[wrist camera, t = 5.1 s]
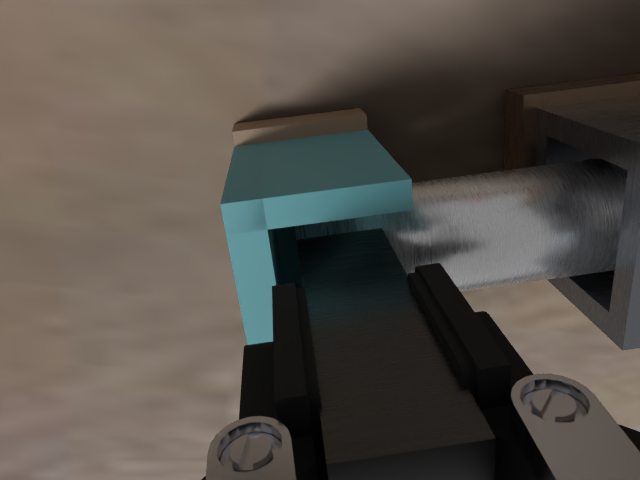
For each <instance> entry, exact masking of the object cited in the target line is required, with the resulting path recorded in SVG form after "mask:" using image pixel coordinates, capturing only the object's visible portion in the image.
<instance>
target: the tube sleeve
mask: <svg viewBox="0 0 640 480" xmlns="http://www.w3.org/2000/svg"><path fill="white" fill-rule="evenodd" d="M596 158H601V159H603V160H605V161H608V162H610V163H612V164H615V165H617V166H619V167H622V168H624V169H626V170H628V173H627V181H626V188H625V196H624V204H623V211H622V219H621V226H620V234H619V242H618V249H617V257H616V265H615V270H611V271H604V272H597V273H590V274H583V275H576V276H569V277H562V278H555V279H547V280H548V281H549V282H550V283H551V284H552V285H554V286H555V287H556V288H557V289H558V290H559V291H560V292H561V293H562V294H563V295H564V296H565V297H566V298H567V299H568V300H570V301H571V302H572V303H573V304H574V305H575V306H576V307H577V308H578V309H579V310H580V311H581V312H582V313H583V314H584V315H585V316H587V317H588V318H589V319H590V320H591V321H592V322H593V323H594V324H595V325H596V326H597V327H598V328H599V329H600V330H601V331H602V332H604V333H605V334H606V335H607V336H608V337H609V338H610V339H611V340H612V341H613V342H614V343H615V344H616V345H617V346H618V347H619V348H621V349H622V350H628V349H635V348H640V73H636V74H627V75H619V76H611V77H603V78H595V79H587V80H579V81H571V82H563V83H555V84H547V85H539V86H531V87H523V88H515V89H507V90H506V105H505V135H504V164H503V171H505V170H513V169H520V168H528V167H536V166H543V165H551V164H558V163H566V162H574V161H581V160H589V159H596Z"/></svg>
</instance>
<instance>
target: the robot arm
mask: <svg viewBox="0 0 640 480" xmlns="http://www.w3.org/2000/svg"><path fill="white" fill-rule="evenodd" d="M407 280H408V282H409V284H410V286H411V287H412V289H413V291H414V293H415V295H416V297H417V299H418V301H419V303H420V304H421V306H422V308H423V310H424V312H425V314H426V316H427V318H428V320H429V321H430V323H431V325H432V327H433V329H434V331H435V333H436V335H437V336H438V338H439V340H440V342H441V344H442V346H443V348H444V350H445V352H446V353H447V355H448V357H449V359H450V361H451V363H452V365H453V367H454V369H455V370H456V372H457V374H458V376H459V378H460V380H461V382H462V384H463V385H464V387H466V386H468V388H469V390H470V392H471V394H472V395H473V397H474V399H475V401H476V403H477V405H478V406H479V408H480V410H481V412H482V414H483V416H484V418H485V419H486V421H487V423H488V425H489V427H490V429H491V430H492V432H493V434H494V436H495V438H496V448H495V476H494V480H640V432H638V431H636V430H633V429H630V428H627V427H624V426H622V425H619V424H617V422H616V421H615V420H614V419H613V417H612V416H611V415H610V414H609V412H608V411H607V410H606V409H605V407H604V406H603V405H602V403H601V402H600V401H599V400H598V398H597V397H596V396H595V395H594V394H593V393H592V392H591V391H590V390H589V389H588V388H587V387H586V386H584V385H582V384H580V383H579V382H577V381H575V380H573V379H570V378H567V377H564V376H560V375H554V374H535V375H533V373H532V372H531V371H530V369H529V368H528V367H527V365H526V364H525V363H524V361H523V360H522V358H521V357H520V356H519V354H518V353H517V352H516V350H515V349H514V348H513V346H512V345H511V344H510V342H509V341H508V340H507V338H506V337H505V336H504V334H503V333H502V331H501V330H500V329H499V327H498V326H497V325H496V323H495V322H494V321H493V319H492V318H491V317H490V315H489V314H488V313H487V312H484V311H482V312H474V311H473V309H472V308H471V306H470V305H469V304H468V302H467V301H466V299H465V298H464V296H463V295H462V294H461V292H460V291H459V289H458V288H457V286H456V285H455V284H454V282H453V281H452V279H451V278H450V276H449V275H448V274H447V272H446V271H445V269H444V268H443V266H442V265H441V264H440V263H434V264H427V265H420V266H416V267H415V272H413V273H408V275H407ZM272 313H273V341H272V342H265V343H258V344H251V345H245V346H244V355H243V369H242V384H241V399H240V414H239V420H237V421H235V422H233V423H231V424H229V425H227V426H226V427H224V428H223V429H222V430H221V431H220V432H219V433H218V434H217V435H216V436H215V438H214V439H213V440H212V442H211V443H210V447H209V451H208V456H207V469H206V476H205V477H204V478H203V479H202V480H329V479H328V472H327V465H326V457H325V450H324V442H323V435H322V427H321V420H320V412H319V408H322V406H321V398H320V391H319V384H318V377H317V370H316V363H315V356H314V349H313V341H312V334H311V327H310V320H309V313H308V306H307V299H306V292H305V288H298V289H296V286H295V283H290V284H283V285H275V286H272Z"/></svg>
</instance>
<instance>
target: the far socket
mask: <svg viewBox="0 0 640 480" xmlns="http://www.w3.org/2000/svg"><path fill="white" fill-rule="evenodd" d="M232 135H233V141H234V146H235V147H234V151H233V155H232V159H231V163H230V167H229V171H228V175H227V179H226V183H225V187H224V191H223V195H222V199H221V204H220V205H221V210H222V215H223V221H224V226H225V231H226V236H227V241H228V247H229V252H230V257H231V262H232V267H233V272H234V278H235V283H236V288H237V293H238V298H239V303H240V309H241V314H242V319H243V324H244V329H245V335H246V340H247V345H251V344H258V343H265V342H272V341H273V313H272V286H275V285H283V284H290V283H295V286H296V289H298V288H303V284H302V277H301V269H300V262H299V254H298V247H297V239H296V232H295V226H299V225H306V224H314V223H321V222H329V221H336V220H344V219H351V218H358V217H366V216H373V215H381V214H388V213H396V212H403V211H411V210H413V200H412V179H411V178H410V177H409V175H408V174H407V173H406V172H405V171H404V170H403V169H402V168H401V166H400V165H399V164H398V163H397V162H396V161H395V160H394V159H393V157H392V156H391V155H390V154H389V153H388V152H387V151H386V150H385V148H384V147H383V146H382V145H381V144H380V143H379V142H378V141H377V139H376V138H375V137H374V136H373V135H372V134H371V133H370V131H369V130H368V125H367V115H366V114H365V113H364V112H363V111H362V110H361V109H360V108H355V109H347V110H339V111H331V112H323V113H315V114H307V115H299V116H291V117H283V118H275V119H267V120H259V121H251V122H243V123H235V124H234V127H233V130H232Z"/></svg>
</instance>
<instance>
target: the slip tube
mask: <svg viewBox="0 0 640 480" xmlns="http://www.w3.org/2000/svg"><path fill="white" fill-rule="evenodd" d="M627 173H628V170H626V169H624V168H622V167H619V166H617V165H615V164H612V163H610V162H608V161H605V160H603V159H601V158H596V159H589V160H581V161H574V162H566V163H558V164H551V165H543V166H536V167H528V168H520V169H513V170H505V171H498V172H490V173H482V174H475V175H467V176H460V177H452V178H444V179H437V180H429V181H422V182H414V183H412V200H413V210H411V211H403V212H396V213H388V214H381V215H373V216H366V217H358V218H351V219H344V220H336V221H329V222H321V223H314V224H306V225H299V226H295V232H296V239H297V247H298V254H299V262H300V269H301V277H302V284H303V288H305V292H306V299H307V306H308V313H309V320H310V327H311V334H312V341H313V349H314V356H315V363H316V370H317V377H318V384H319V391H320V398H321V406H322V408H319V412H320V420H321V427H322V435H323V442H324V450H325V457H326V465H327V472H328V479H329V480H494V476H495V448H496V438H495V436H494V434H493V432H492V430H491V429H490V427H489V425H488V423H487V421H486V419H485V418H484V416H483V414H482V412H481V410H480V408H479V406H478V405H477V403H476V401H475V399H474V397H473V395H472V394H471V392H470V390H469V388H468V386H466V387H464V385H463V384H462V382H461V380H460V378H459V376H458V374H457V372H456V370H455V369H454V367H453V365H452V363H451V361H450V359H449V357H448V355H447V353H446V352H445V350H444V348H443V346H442V344H441V342H440V340H439V338H438V336H437V335H436V333H435V331H434V329H433V327H432V325H431V323H430V321H429V320H428V318H427V316H426V314H425V312H424V310H423V308H422V306H421V304H420V303H419V301H418V299H417V297H416V295H415V293H414V291H413V289H412V287H411V286H410V284H409V282H408V280H407V275H408V273H413V272H415V267H416V266H420V265H427V264H434V263H440V264H441V265H442V266H443V268H444V269H445V271H446V272H447V274H448V275H449V276H450V278H451V279H452V281H453V282H454V284H455V285H456V286H457V288H458V289H459V291H460V292H462V291H470V290H477V289H484V288H491V287H498V286H505V285H512V284H519V283H526V282H533V281H540V280H547V279H555V278H562V277H569V276H576V275H583V274H590V273H597V272H604V271H611V270H615V265H616V257H617V249H618V242H619V234H620V226H621V219H622V211H623V204H624V196H625V188H626V181H627Z"/></svg>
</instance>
